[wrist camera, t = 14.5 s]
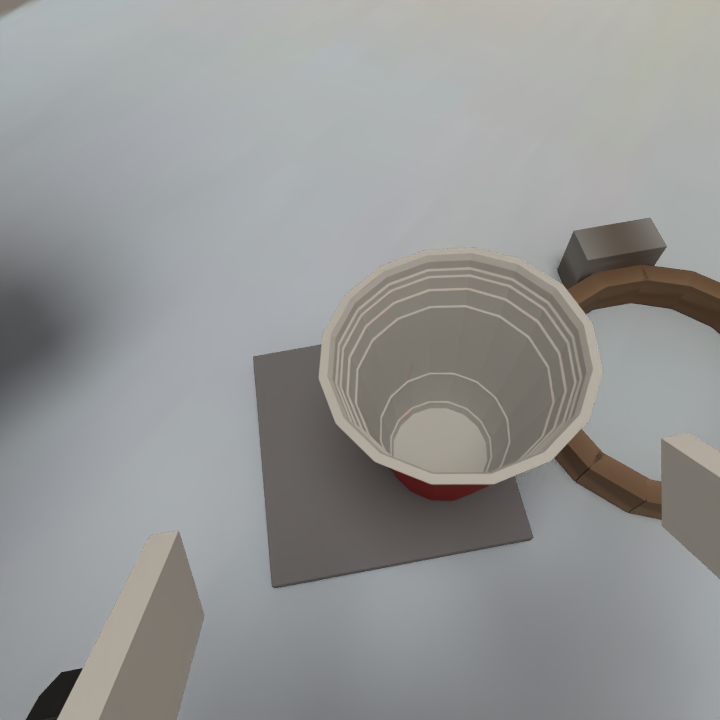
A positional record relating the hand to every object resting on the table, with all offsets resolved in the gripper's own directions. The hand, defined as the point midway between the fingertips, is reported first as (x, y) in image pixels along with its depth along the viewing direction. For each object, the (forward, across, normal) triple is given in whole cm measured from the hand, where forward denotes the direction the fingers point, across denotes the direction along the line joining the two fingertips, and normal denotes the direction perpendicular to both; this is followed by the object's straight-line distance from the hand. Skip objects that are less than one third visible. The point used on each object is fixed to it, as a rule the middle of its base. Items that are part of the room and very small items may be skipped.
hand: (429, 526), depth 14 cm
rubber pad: (+17, 0, -5) cm, 18 cm away
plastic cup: (+16, +3, -6) cm, 17 cm away
